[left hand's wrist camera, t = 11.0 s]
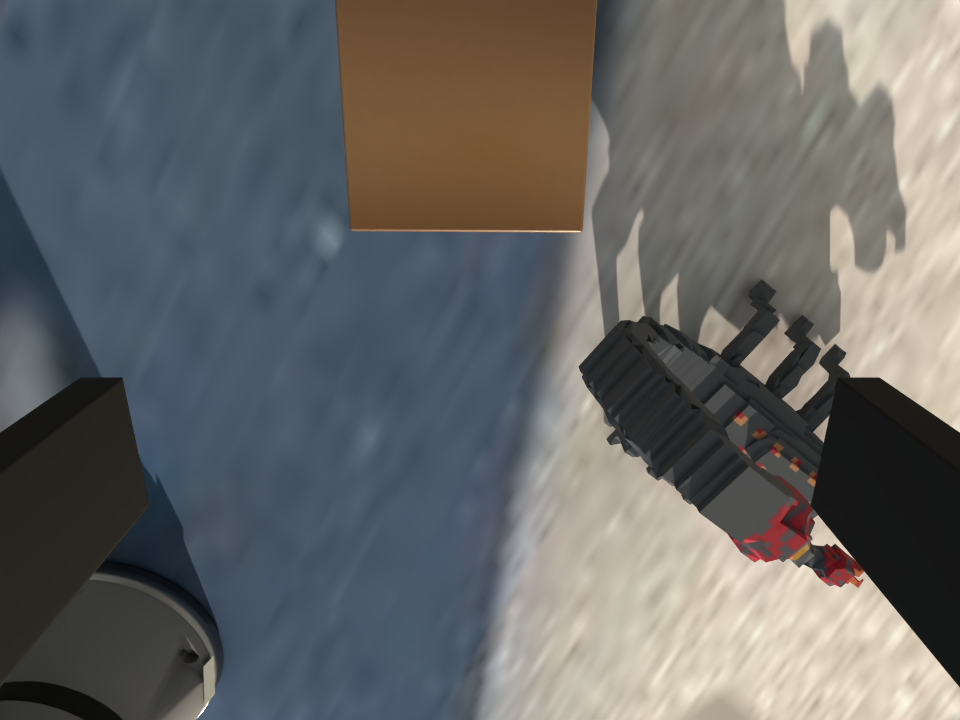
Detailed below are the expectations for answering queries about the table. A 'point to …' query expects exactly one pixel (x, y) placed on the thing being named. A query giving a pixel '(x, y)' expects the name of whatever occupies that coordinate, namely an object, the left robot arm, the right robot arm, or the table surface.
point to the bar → (466, 113)
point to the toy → (725, 430)
